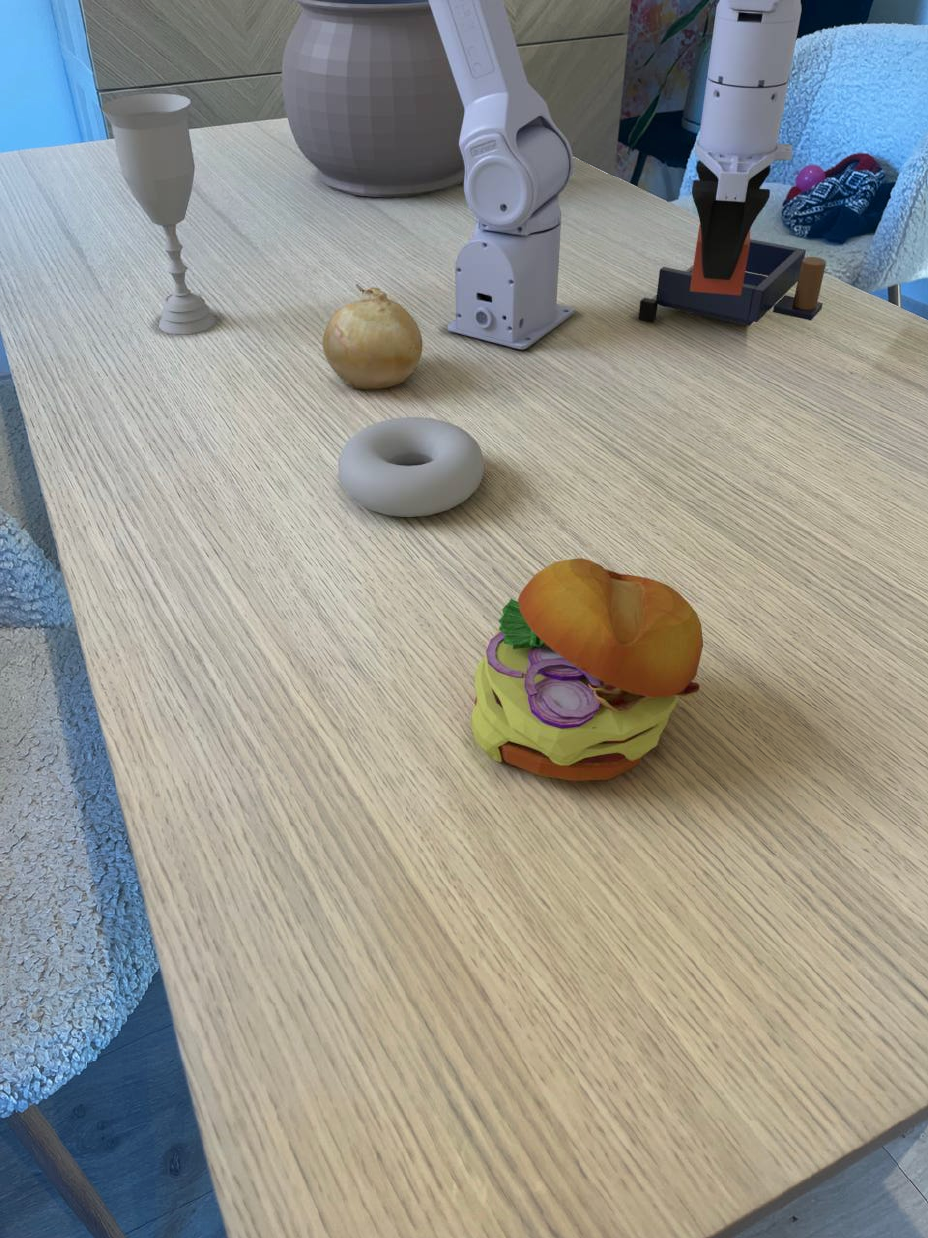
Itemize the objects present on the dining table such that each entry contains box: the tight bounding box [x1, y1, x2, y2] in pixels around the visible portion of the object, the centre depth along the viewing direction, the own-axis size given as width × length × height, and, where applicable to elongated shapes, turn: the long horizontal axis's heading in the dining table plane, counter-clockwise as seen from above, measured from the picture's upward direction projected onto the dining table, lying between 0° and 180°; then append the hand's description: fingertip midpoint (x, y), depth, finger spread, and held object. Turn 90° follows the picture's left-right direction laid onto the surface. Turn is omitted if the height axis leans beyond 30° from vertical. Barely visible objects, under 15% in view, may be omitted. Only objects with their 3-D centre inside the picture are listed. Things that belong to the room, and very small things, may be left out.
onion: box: [321, 283, 424, 391], centre depth 80 cm, size 8×8×7 cm
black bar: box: [637, 297, 659, 323], centre depth 95 cm, size 14×1×2 cm, turn 148°
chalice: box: [101, 93, 217, 335], centre depth 86 cm, size 7×7×18 cm
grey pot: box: [281, 0, 465, 198], centre depth 119 cm, size 25×25×20 cm
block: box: [690, 224, 751, 295], centre depth 81 cm, size 4×4×4 cm
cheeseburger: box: [470, 557, 704, 782], centre depth 50 cm, size 10×11×10 cm
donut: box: [337, 416, 486, 518], centre depth 69 cm, size 10×4×10 cm
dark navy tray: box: [651, 238, 827, 327], centre depth 91 cm, size 12×14×5 cm
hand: (717, 267), depth 81 cm, fingers closed on block, 4 cm apart
